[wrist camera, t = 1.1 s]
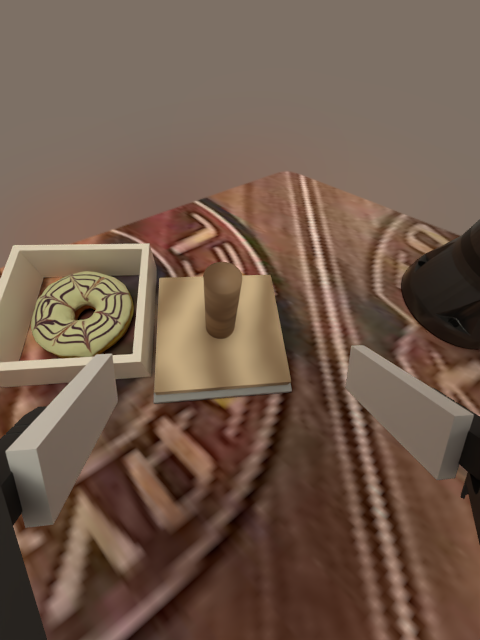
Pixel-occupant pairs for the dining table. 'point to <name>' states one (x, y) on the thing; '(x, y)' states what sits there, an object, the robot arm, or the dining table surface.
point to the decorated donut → (65, 307)
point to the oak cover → (218, 333)
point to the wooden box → (60, 261)
